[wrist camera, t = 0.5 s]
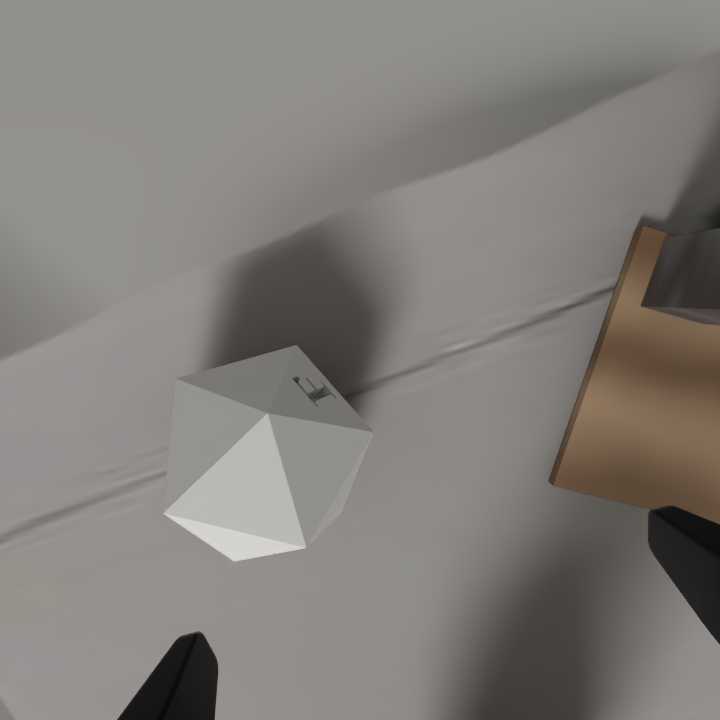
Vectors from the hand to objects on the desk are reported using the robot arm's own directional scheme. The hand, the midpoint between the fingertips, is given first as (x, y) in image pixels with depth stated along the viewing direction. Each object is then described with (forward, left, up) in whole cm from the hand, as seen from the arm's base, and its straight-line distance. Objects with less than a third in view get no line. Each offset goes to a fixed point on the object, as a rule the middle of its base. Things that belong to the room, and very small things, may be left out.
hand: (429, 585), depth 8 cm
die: (+1, +5, -14) cm, 15 cm away
